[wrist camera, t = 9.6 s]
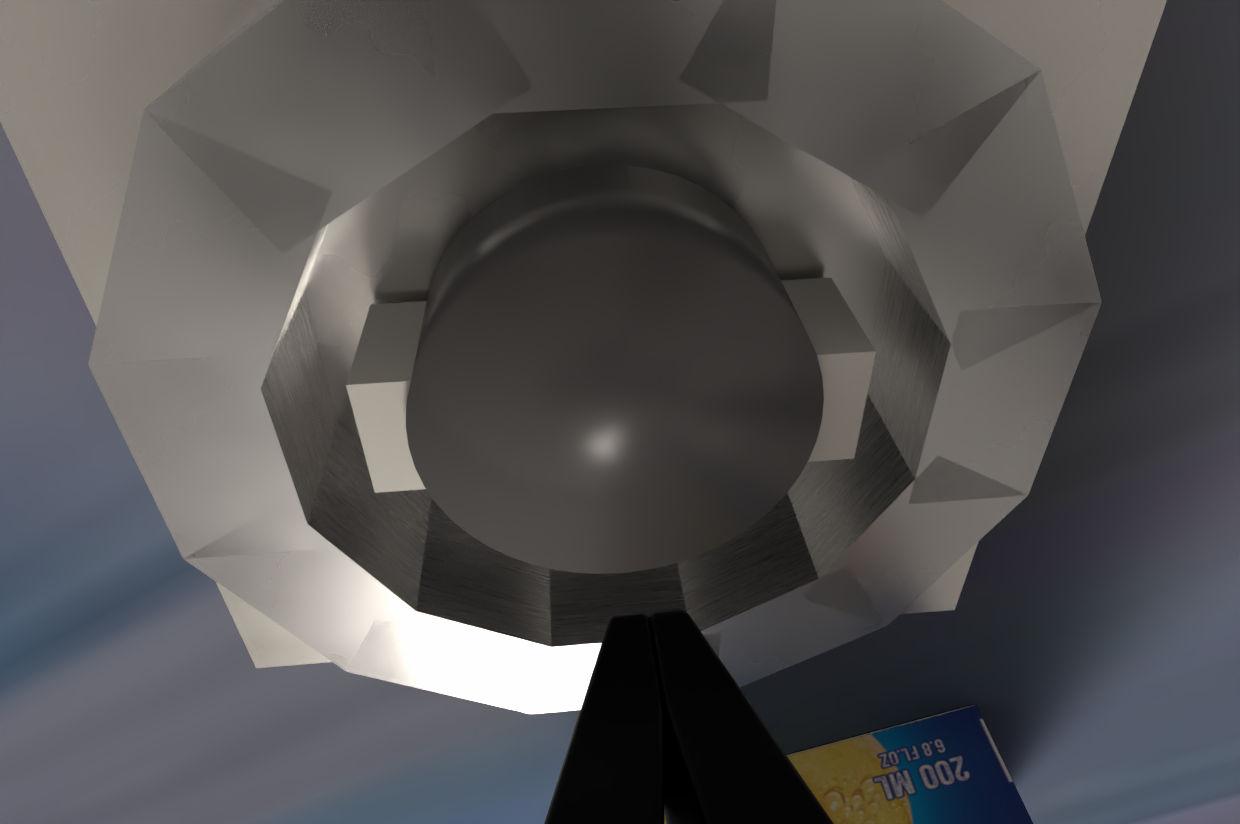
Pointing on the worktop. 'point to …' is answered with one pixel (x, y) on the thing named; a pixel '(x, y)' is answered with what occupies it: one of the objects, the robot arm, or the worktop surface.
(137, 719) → the worktop surface
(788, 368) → the cap
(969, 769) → the beverage box
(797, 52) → the grey faceted ring
